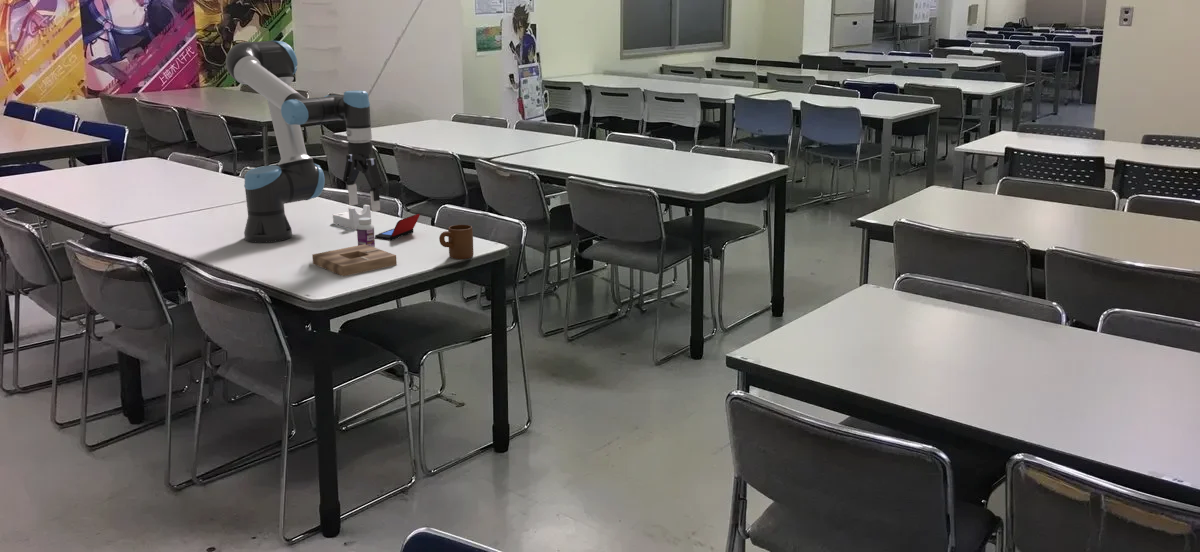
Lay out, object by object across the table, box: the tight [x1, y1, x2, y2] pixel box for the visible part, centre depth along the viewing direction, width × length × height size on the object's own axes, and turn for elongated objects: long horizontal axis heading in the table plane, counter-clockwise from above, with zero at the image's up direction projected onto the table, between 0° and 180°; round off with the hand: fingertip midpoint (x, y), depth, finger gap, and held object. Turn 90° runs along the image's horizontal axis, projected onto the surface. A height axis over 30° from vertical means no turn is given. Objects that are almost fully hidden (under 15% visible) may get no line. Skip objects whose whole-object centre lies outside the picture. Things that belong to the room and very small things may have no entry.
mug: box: [439, 224, 474, 260], centre depth 299 cm, size 12×8×9 cm, turn 138°
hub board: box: [312, 244, 398, 277], centre depth 292 cm, size 18×18×3 cm
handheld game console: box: [374, 213, 421, 241], centre depth 326 cm, size 12×11×7 cm
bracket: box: [332, 204, 372, 230], centre depth 341 cm, size 13×7×8 cm, turn 47°
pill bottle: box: [356, 217, 376, 248], centre depth 310 cm, size 5×5×10 cm
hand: (364, 207), depth 307 cm, fingers open, 13 cm apart
